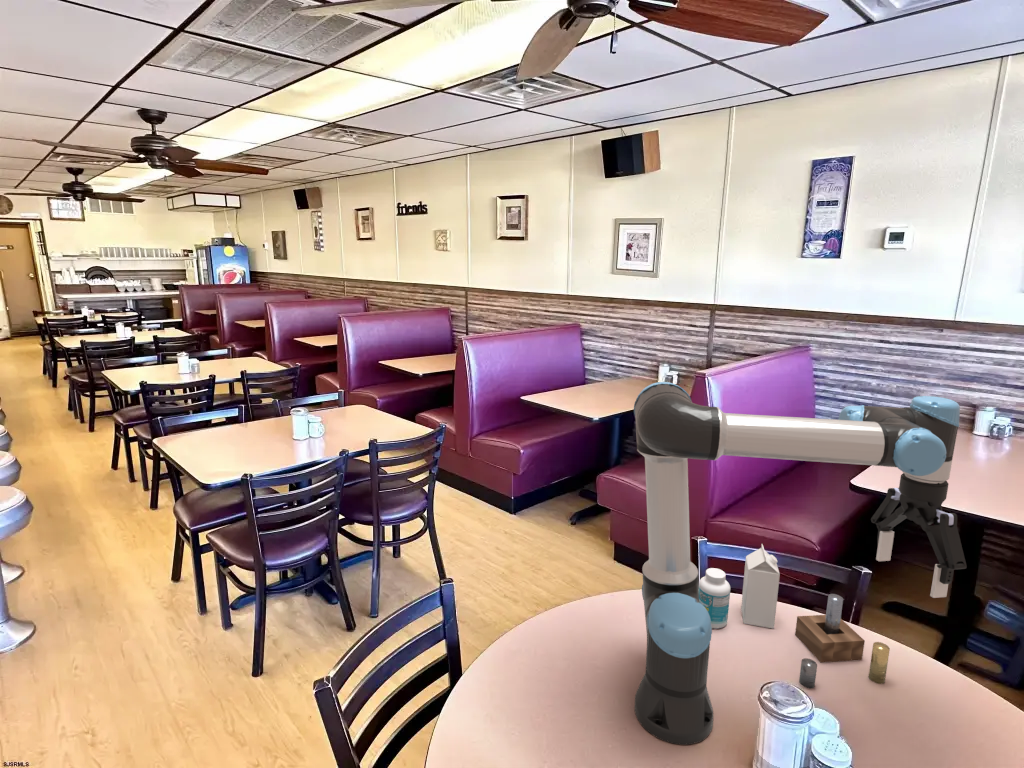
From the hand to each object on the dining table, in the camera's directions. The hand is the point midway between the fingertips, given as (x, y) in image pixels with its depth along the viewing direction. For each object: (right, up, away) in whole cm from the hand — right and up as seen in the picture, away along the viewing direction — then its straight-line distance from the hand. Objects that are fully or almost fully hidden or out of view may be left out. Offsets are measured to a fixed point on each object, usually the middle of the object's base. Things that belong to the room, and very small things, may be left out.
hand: (908, 577), depth 113 cm
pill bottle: (-29, -22, +30) cm, 47 cm away
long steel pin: (-4, -24, +21) cm, 32 cm away
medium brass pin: (0, -26, +10) cm, 28 cm away
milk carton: (-17, -21, +31) cm, 42 cm away
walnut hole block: (-5, -24, +21) cm, 32 cm away
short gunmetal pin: (-16, -26, +9) cm, 32 cm away
